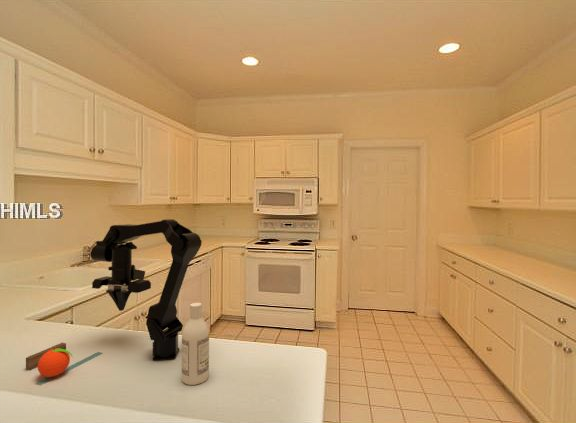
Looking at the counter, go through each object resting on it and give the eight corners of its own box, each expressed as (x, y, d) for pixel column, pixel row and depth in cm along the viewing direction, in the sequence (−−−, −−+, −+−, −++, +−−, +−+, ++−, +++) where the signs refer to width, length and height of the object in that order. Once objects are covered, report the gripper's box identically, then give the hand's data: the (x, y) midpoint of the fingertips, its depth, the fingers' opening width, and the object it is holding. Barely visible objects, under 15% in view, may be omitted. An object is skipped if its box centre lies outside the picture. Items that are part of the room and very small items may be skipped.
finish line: (102, 353, 93) (102, 352, 93) (40, 386, 76) (40, 385, 76) (97, 352, 94) (97, 351, 94) (34, 384, 76) (34, 383, 76)
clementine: (79, 366, 85) (79, 342, 84) (66, 380, 78) (66, 353, 78) (47, 369, 83) (47, 344, 83) (31, 384, 76) (31, 356, 76)
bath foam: (210, 370, 84) (211, 299, 83) (206, 385, 77) (206, 308, 76) (185, 371, 83) (185, 300, 83) (178, 386, 76) (179, 308, 76)
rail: (66, 354, 92) (66, 343, 92) (29, 371, 83) (29, 358, 83) (62, 353, 93) (62, 342, 93) (25, 370, 83) (25, 357, 83)
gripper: (162, 260, 102) (162, 305, 103) (119, 257, 108) (118, 300, 108) (137, 266, 92) (137, 316, 92) (91, 262, 97) (90, 310, 97)
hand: (121, 310), depth 97 cm, fingers closed
